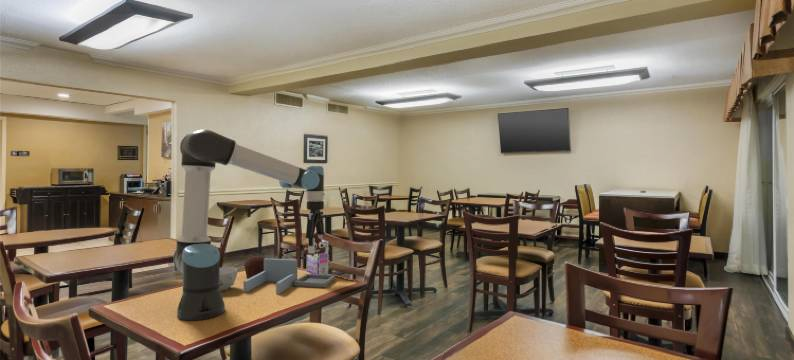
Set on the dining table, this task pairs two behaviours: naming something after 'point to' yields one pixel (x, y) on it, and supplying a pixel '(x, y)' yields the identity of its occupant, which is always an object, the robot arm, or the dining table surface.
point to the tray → (314, 280)
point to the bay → (275, 274)
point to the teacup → (227, 277)
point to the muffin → (254, 265)
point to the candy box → (319, 261)
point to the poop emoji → (318, 246)
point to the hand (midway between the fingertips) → (315, 250)
